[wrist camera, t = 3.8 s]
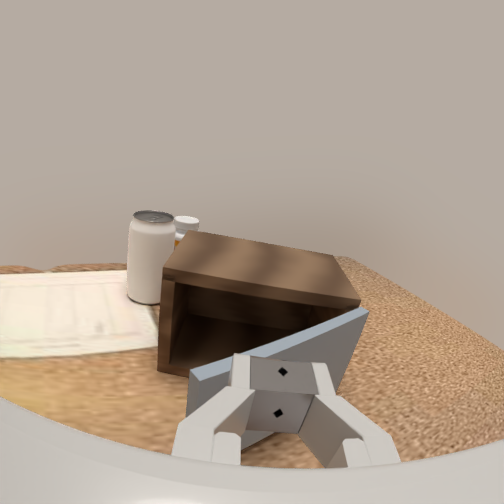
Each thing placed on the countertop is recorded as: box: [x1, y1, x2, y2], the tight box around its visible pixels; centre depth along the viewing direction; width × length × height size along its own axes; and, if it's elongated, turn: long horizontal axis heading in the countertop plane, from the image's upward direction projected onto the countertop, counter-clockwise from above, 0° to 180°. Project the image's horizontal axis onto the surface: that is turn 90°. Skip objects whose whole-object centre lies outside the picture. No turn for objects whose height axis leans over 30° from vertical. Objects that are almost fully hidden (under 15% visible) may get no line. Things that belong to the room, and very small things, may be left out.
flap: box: [186, 307, 369, 450], centre depth 24 cm, size 18×1×10 cm, turn 129°
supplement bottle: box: [174, 216, 200, 250], centre depth 51 cm, size 6×6×10 cm
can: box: [127, 210, 176, 305], centre depth 44 cm, size 6×6×12 cm
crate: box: [158, 230, 361, 377], centre depth 35 cm, size 18×12×12 cm, turn 90°
